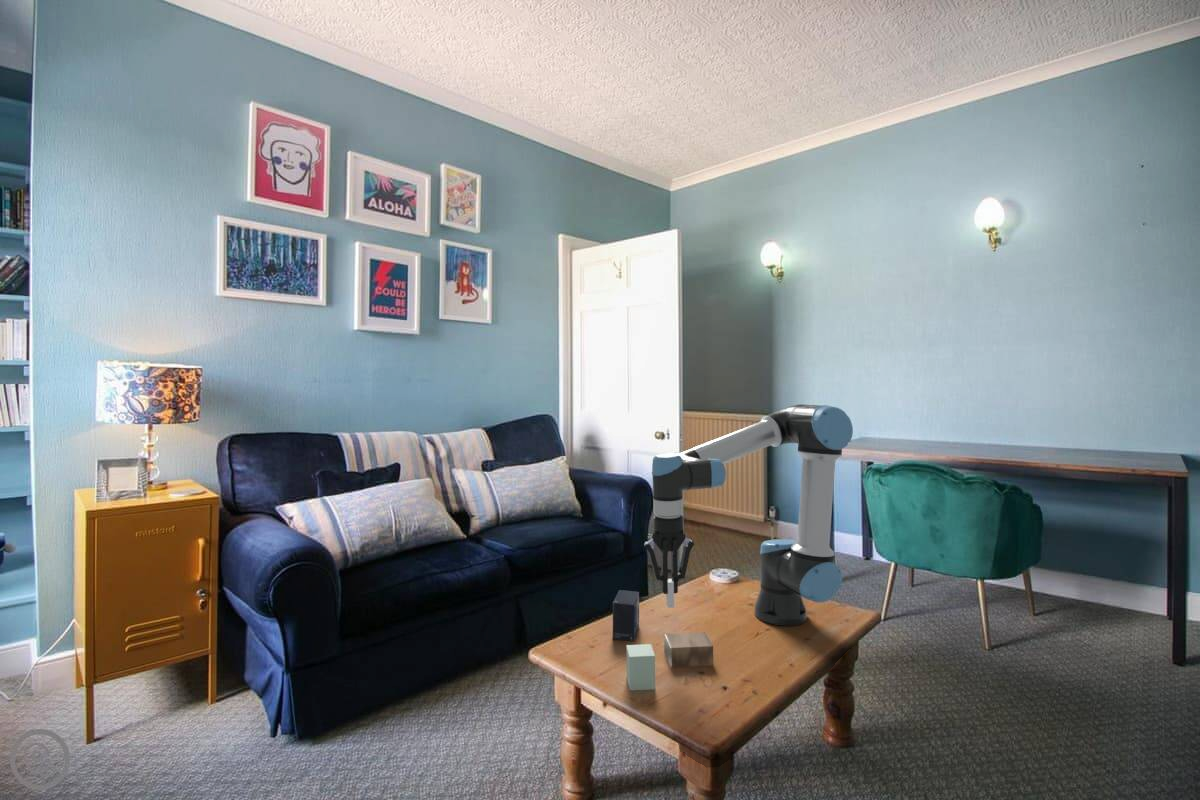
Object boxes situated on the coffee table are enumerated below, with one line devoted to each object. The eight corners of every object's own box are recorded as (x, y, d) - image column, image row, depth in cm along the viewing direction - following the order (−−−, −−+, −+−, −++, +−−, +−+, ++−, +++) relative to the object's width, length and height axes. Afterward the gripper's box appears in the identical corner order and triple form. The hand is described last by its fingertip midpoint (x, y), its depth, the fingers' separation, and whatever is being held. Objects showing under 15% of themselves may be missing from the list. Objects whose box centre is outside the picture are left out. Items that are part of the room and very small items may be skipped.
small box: (635, 641, 161) (634, 604, 161) (611, 639, 162) (611, 602, 162) (640, 625, 171) (639, 590, 171) (618, 624, 173) (618, 589, 172)
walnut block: (664, 652, 154) (705, 650, 155) (670, 667, 146) (713, 665, 147) (664, 634, 154) (705, 632, 155) (670, 647, 146) (713, 646, 147)
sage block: (651, 676, 142) (650, 644, 142) (655, 689, 136) (655, 655, 136) (626, 677, 142) (626, 645, 141) (629, 690, 136) (629, 656, 135)
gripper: (689, 510, 153) (691, 598, 154) (640, 512, 152) (643, 601, 153) (696, 517, 146) (698, 609, 147) (645, 519, 145) (647, 612, 146)
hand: (670, 605), depth 150 cm, fingers closed
